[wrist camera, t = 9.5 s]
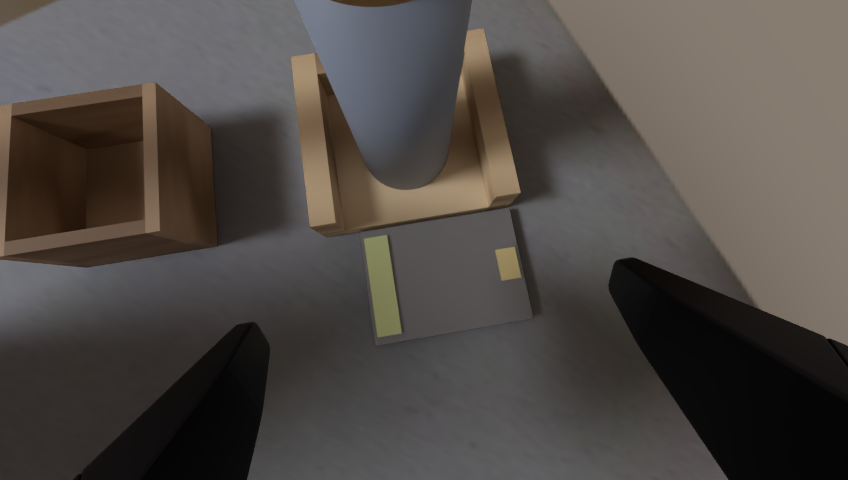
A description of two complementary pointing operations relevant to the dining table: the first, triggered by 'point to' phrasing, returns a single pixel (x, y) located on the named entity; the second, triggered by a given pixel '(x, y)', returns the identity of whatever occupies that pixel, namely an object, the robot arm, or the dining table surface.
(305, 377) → the dining table surface
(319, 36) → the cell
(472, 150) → the light wooden tray
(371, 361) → the dining table surface
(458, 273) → the pad
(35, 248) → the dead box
